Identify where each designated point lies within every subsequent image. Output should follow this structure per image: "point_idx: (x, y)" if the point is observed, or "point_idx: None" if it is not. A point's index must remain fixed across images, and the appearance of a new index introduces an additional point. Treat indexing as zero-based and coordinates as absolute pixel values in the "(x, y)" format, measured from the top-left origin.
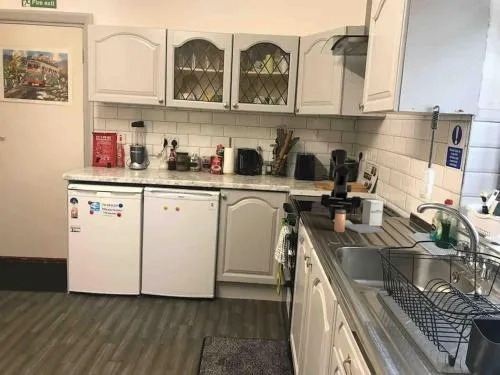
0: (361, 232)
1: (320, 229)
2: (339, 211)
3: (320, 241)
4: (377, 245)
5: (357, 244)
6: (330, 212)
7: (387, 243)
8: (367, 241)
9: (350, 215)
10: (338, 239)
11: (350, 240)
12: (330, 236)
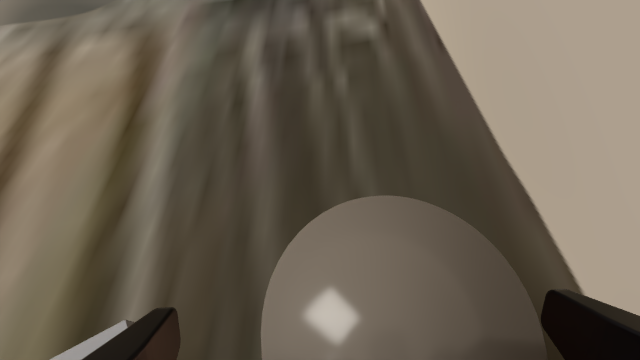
0: (95, 340)
1: None
2: (414, 203)
3: (424, 29)
4: (124, 26)
5: (237, 21)
6: (585, 297)
7: (28, 69)
8: (155, 80)
9: (171, 311)
10: (336, 78)
11: (264, 76)
12: (391, 128)
